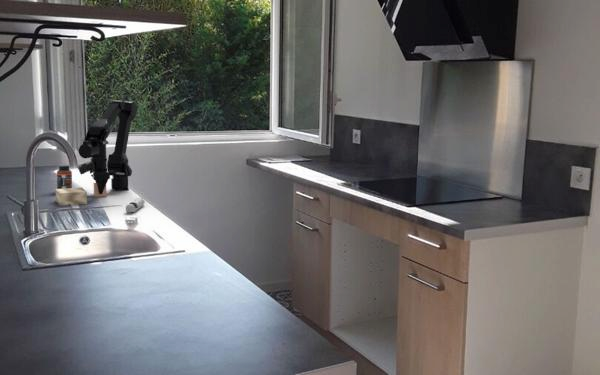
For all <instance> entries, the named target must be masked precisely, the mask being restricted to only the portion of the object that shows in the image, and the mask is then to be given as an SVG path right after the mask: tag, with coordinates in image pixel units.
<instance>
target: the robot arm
mask: <svg viewBox="0 0 600 375" xmlns="http://www.w3.org/2000/svg"><path fill="white" fill-rule="evenodd" d="M138 106H139V105H138V104H136V102H135V101H123V100H120V99H119V100H117V99H116V100H111V101H110V104H109V106H108V107H107V109H106V110H105V111H104V113H103V114H102V115H101V117H100V119H98V120H96V121H93V123H91V125H90V126H89V127H88V129H87V132H86V134H85V137H84V140H82V144H81V145H80V146H79V148H78V151H77V152H78V155H79V156H80V158H82V159H90V161H87V162H84V163H82V164H79V165H77V166H78V167H77V168H78V171H79V174H80V175H85V173H88V172H89V174H90V177H92V179H93V180H94V181H95V182H94V183H97V186H98V190H99V194H102V193H103V191H104V188H105V186H106V187H107V183H108V181H109V180H110V187H111V189H112V190H113V191H129V190H130V189H129V177H131V176H132V175H133V170H132V168H131V167H130V165H129V158H128V156H127V147H128V142H129V135H130V129H131V123H132V122H133V120H135V119H136V116H137V113H138V110H139V108H138ZM117 117H118V120H119V122H118V127H117V131H116V132H117V133H116V139H115V145H114V151H113V152H112V153H111V154H110V153H109V154H108V157H107V145H108V144H109V141H108V140H107V139H108V137H109V136H110V133H111V129H110V128H111V126H112V124H113V123H114V122H115V120H116V119H117ZM111 176H112V178H111Z"/></svg>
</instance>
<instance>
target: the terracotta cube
mask: <svg viewBox="0 0 600 375" xmlns="http://www.w3.org/2000/svg"><path fill="white" fill-rule="evenodd" d="M93 196H94V197H107V185H106V186H105V188H104V191H103V193H102V194H99V190H98V186H97V183H96V182H93Z"/></svg>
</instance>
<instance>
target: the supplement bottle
mask: <svg viewBox="0 0 600 375" xmlns="http://www.w3.org/2000/svg"><path fill="white" fill-rule="evenodd" d="M58 168H59V169H58V170H57V171H56V186H57V188H56V189H66V188H73V172H72V170H70V165H69V164H59V165H58Z"/></svg>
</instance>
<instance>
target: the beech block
mask: <svg viewBox="0 0 600 375" xmlns="http://www.w3.org/2000/svg"><path fill="white" fill-rule="evenodd" d="M55 202H56V203H57V202H58V203H59V204H60V205H61V206H69V205H68V204H76V205H86V204H88V192H87V190H85V189H84V188H83V187H72V188H66V189H57V188H55ZM58 203H57V204H58ZM59 204H58V205H59ZM60 205H59V206H60Z"/></svg>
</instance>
